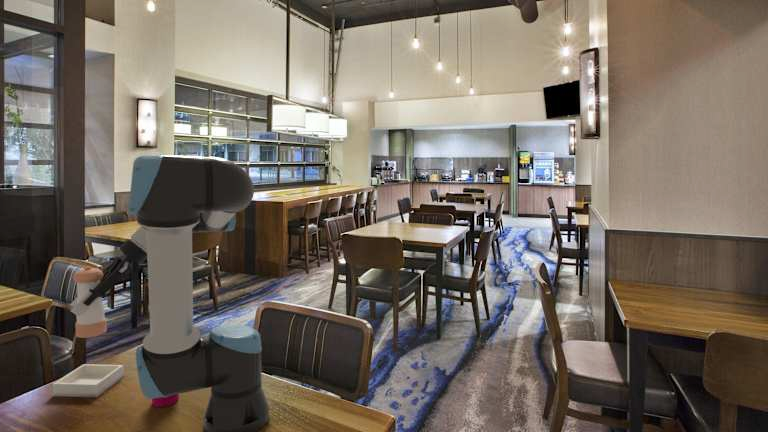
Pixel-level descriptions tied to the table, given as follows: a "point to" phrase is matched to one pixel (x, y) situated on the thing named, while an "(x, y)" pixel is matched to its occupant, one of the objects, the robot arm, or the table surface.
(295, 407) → the table surface
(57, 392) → the tray
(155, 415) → the table surface
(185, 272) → the robot arm
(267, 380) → the table surface
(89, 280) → the pepper shaker
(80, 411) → the table surface
